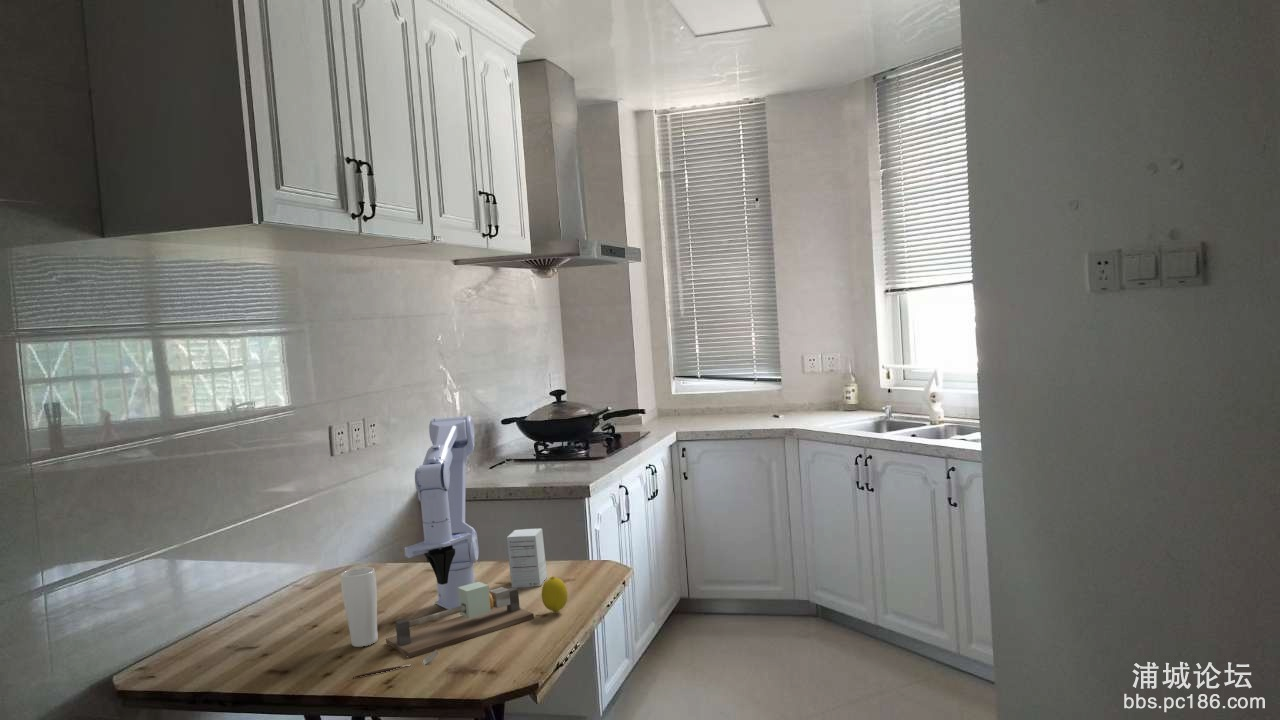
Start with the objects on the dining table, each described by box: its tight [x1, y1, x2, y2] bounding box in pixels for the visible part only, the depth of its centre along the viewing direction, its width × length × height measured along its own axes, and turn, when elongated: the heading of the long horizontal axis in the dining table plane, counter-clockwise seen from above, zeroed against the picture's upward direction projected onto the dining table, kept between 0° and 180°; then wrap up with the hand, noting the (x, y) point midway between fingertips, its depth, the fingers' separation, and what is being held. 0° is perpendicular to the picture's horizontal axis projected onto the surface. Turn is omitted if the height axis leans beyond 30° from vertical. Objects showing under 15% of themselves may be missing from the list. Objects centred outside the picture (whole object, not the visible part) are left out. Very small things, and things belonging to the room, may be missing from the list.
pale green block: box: [458, 581, 491, 619], centre depth 180 cm, size 4×5×6 cm
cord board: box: [385, 586, 535, 659], centre depth 178 cm, size 12×28×6 cm, turn 128°
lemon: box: [541, 575, 568, 614], centre depth 184 cm, size 6×6×8 cm
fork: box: [352, 649, 439, 678], centre depth 160 cm, size 3×16×2 cm, turn 112°
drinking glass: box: [340, 566, 379, 648], centre depth 176 cm, size 7×7×15 cm
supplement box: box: [506, 528, 548, 589], centre depth 209 cm, size 7×7×13 cm
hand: (442, 583), depth 182 cm, fingers closed
